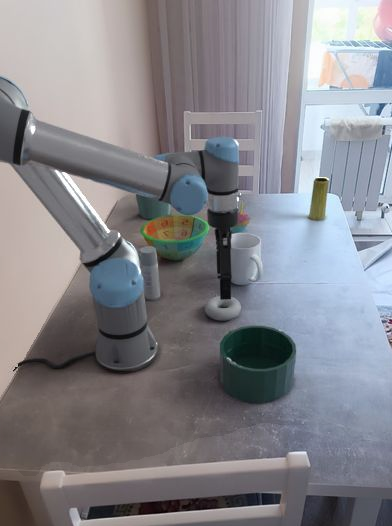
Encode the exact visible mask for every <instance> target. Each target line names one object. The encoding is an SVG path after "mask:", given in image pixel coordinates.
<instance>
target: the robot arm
mask: <svg viewBox="0 0 392 526" xmlns="http://www.w3.org/2000/svg"><path fill="white" fill-rule="evenodd" d="M239 151H240V150H239V142H238V141H237V140H236V139H235V138H232V137H229V136H216V137H213V138H212V137H211V138H209V139H207V140H206V141H205V143H204V149H201V150H193V151H182V152H181V151H180V152H171V153H170V152H166V153H163V154H162V153H161V154H156V155H154V156H153V157H152V156H149V155H145V154H143V153H141V152H140V153H139V152H137V151H133V150H131V149H127V148H125V147H121V146H118V145H115V144H113V143H109V142H106V141H103V140H100V139H98V138H95V137H91V136H88V135H85V134H82V133H78V132H75V131H72V130H70V129H68V128H67V129H66V128H64V127H61V126H57V125H54V124H51V123H48V122H46V121H45V122H44V121H42V120H39V119H37V117H36V116H35V114H34V112H33V111H31V110H30V108H29V103H28V100H27V98H26V96H25V94H24V92H23V91H22V90H21V89H20V87H19V86H18V85H17V84H16V83H15V82H14V81H12V80H11V79H9V78H8V77H5V76H3V75H0V163H3V164H4V163H5V164H7V165H10V167H12V169H13V170H14V171H15V173H17V175H18V176H19V177H20V178H21V180H22V181H23V182H24V184H25V185H26V187H27V188H29V190H30V191H31V192H32V193H33V195H34V196H35V197H36V199H37V200H38V201H39V202H40V203H41V204H42V206H43V207H44V208H45V209H46V211H47V212H48V213H49V214H50V216H51V217H52V218H53V219H54V220H55V222H56V223H57V224H58V225H59V227H60V228H61V229H62V230H63V232H64V233H65V234H66V235H67V237H68V238H69V239H70V241H71V242H72V243H73V244H74V245H75V246H76V248H77V249H78V250H79V259H78V260H79V261H80V263H81V264H82V265H83V266H84V267H85V269H86V270H87V271H88V272H89V291H90V294H91V297H92V302H93V306H94V312H95V318H96V323H97V327H98V335H97V341H96V345H95V351H91V352H88V353H85V354H81V355H77V356H74V357H71V358H70V359H68V360H66V361H65V362H63V363H60V364H53V363H52V362H50V361H49V360H48V359H46V358H41V357H40V358H39V357H38V358H37V357H36V358H27V359H24V360H22V361H19V362H18V363H17V364H18V367H15V369H14V370H13V372H12V373H14V372H15V371H17V370H18V368H20V367H22V366H23V365H26V364H30V363H31V364H32V363H44V364H45V365H47V366H48V367H49V368H51V369H54V370H55V369H57V370H58V369H63V368H65V367H67V366H69V365H70V364H72V363H74V362H76V361H79V360H83V359H86V358H90V357H94V356H95V358H96V362H97V364H98V365H99V366H100V367H101V368H102V369H104V370H106V371H107V372H111V373H115V374H130V373H134V372H135V373H136V372H138V371H141V370H143V369H145V368H147V367H148V366H150V365H152V363H154V362H155V360H156V359H157V357H158V353H159V348H158V342H157V340H156V337H155V336H154V334H153V333H152V331H151V328H150V327H149V324H148V317H147V308H146V299H145V295H144V282H143V276H142V269H141V259H140V254H139V253H138V251H137V249H136V248H135V246H134V245H133V243H131V242H130V241H128V240H127V239H125V238H123V236H122V234H120V232H119V231H118V230H116V229H110V228H108V226H107V225H106V224H105V222H104V221H103V220H102V219H101V217H100V216H99V214H98V212H96V210H95V209H94V207H93V206H92V205H91V204H90V202H89V201H88V200H87V197H85V195H84V194H83V192H82V191H81V190H80V189H79V187H78V186H77V184H76V183H75V182H74V180H73V179H72V178H71V176H74V177H77V178H81V179H84V180H87V181H90V182H94V183H96V184H97V183H98V184H101V185H104V186H107V187H111V188H114V189H118V190H120V191H125V192H127V193H131V194H134V195H136V194H138V195H141V196H144V197H148V198H151V199H154V200H158V201H161V202H164V203H167V204H170V206H172V207H173V209H174V210H175V211H177V212H178V213H179V214H180V215H189V216H194V215H197V214H198V213H200V212H201V211H202V210H203V209H204V208H205V207H206V208H207V210H206V213H207V215H206V217H207V218H206V219H207V223H208V225H209V227H210V228H212V229H213V228H214V236H215V244H216V274H217V279H219V296H220V300H227V299H231V297H232V282H231V279H232V275H231V239H232V234H233V232H232V231H231V227H234V226H236V225H237V224H238V214H239V212H240V209H239V208H238V207H239V198H241V197H242V194H241V192H239V184H240V183H239V181H240V180H239V179H240V177H239V176H240V163H241V162H240V152H239ZM70 175H71V176H70Z"/></svg>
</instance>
